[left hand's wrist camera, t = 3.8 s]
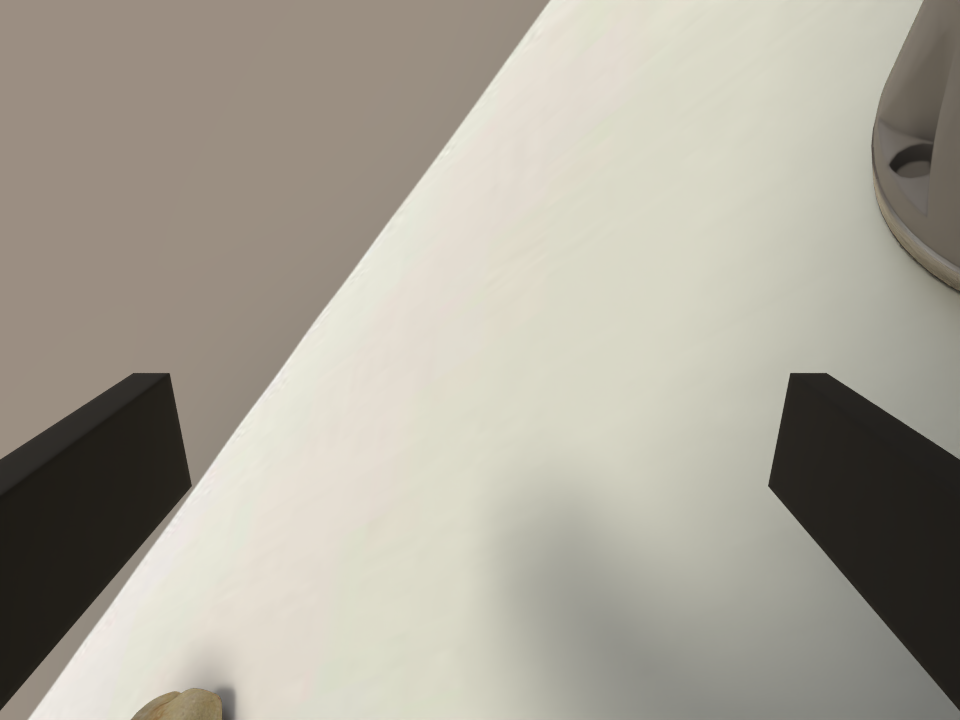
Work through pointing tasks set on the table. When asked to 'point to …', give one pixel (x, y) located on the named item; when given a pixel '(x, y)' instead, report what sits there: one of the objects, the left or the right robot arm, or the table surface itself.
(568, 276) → the table surface
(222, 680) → the table surface
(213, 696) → the sculpture
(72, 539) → the left robot arm
